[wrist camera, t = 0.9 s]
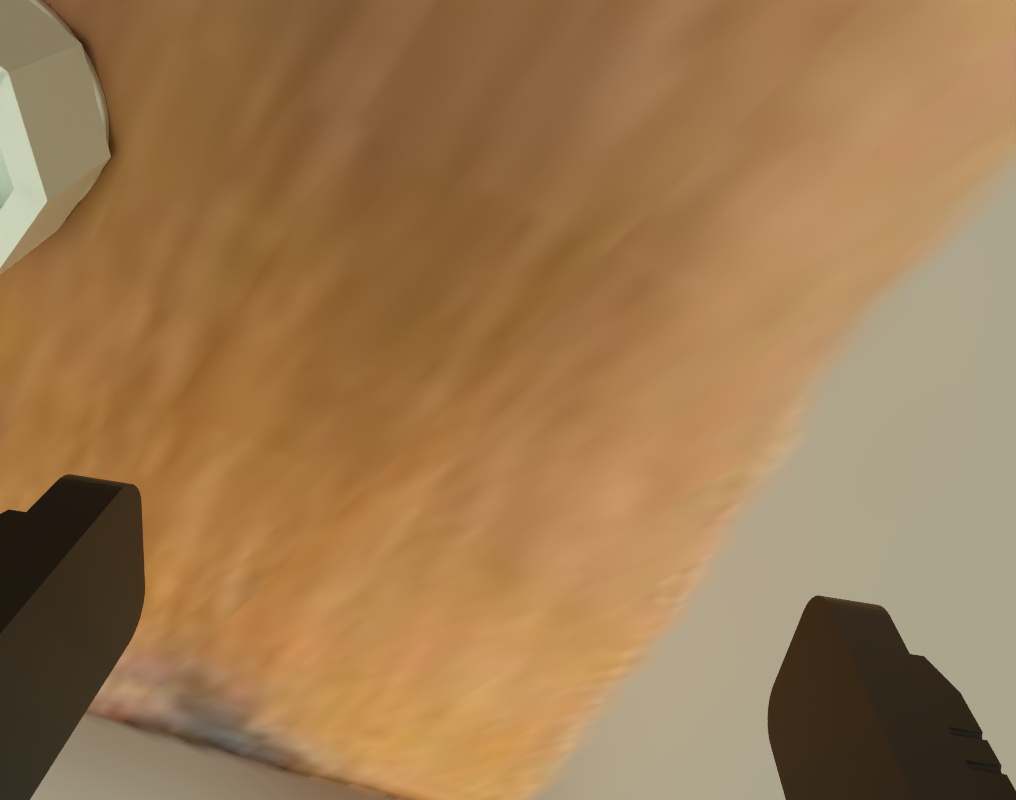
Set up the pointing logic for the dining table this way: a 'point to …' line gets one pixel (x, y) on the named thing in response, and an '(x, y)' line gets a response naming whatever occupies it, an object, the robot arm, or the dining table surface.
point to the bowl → (45, 126)
